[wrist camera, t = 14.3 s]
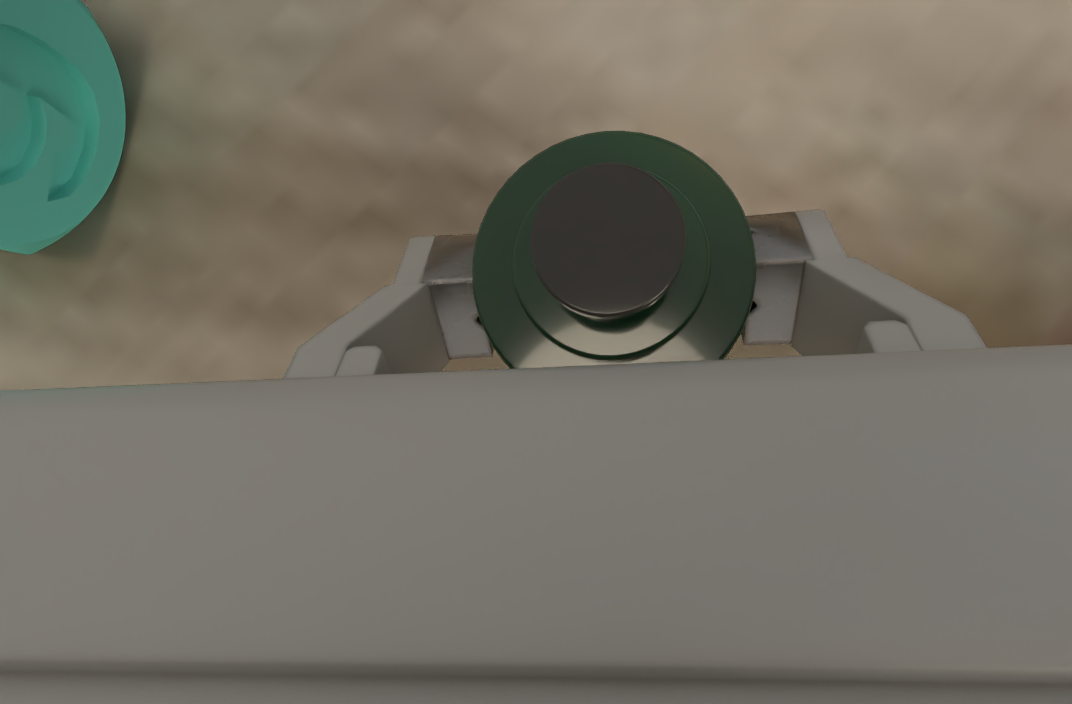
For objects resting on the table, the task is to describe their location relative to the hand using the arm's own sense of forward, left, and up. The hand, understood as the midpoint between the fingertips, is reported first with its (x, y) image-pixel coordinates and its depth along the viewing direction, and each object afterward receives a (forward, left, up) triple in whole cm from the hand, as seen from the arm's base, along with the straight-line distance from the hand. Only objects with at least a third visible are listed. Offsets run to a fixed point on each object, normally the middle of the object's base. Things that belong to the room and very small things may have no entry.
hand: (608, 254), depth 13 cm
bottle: (0, -1, -5) cm, 5 cm away
